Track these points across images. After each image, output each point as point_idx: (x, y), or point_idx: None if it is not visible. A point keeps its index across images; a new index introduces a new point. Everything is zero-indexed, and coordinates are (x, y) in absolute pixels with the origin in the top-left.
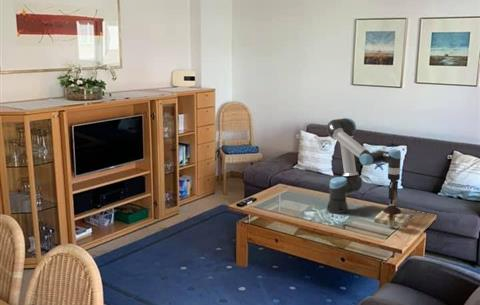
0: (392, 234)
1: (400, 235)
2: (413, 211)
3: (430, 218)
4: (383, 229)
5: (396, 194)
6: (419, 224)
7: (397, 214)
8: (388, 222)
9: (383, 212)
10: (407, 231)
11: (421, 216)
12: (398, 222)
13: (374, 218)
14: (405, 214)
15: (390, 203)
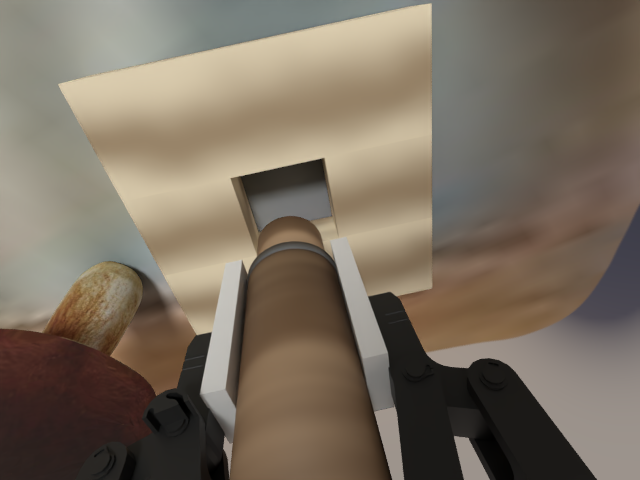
0: None
1: None
2: (635, 202)
3: (504, 338)
4: (21, 252)
5: (470, 439)
6: None
7: (384, 219)
8: (64, 296)
9: (358, 62)
10: (164, 365)
11: (524, 291)
12: (188, 317)
13: (63, 88)
14: (426, 265)
15: (192, 353)
